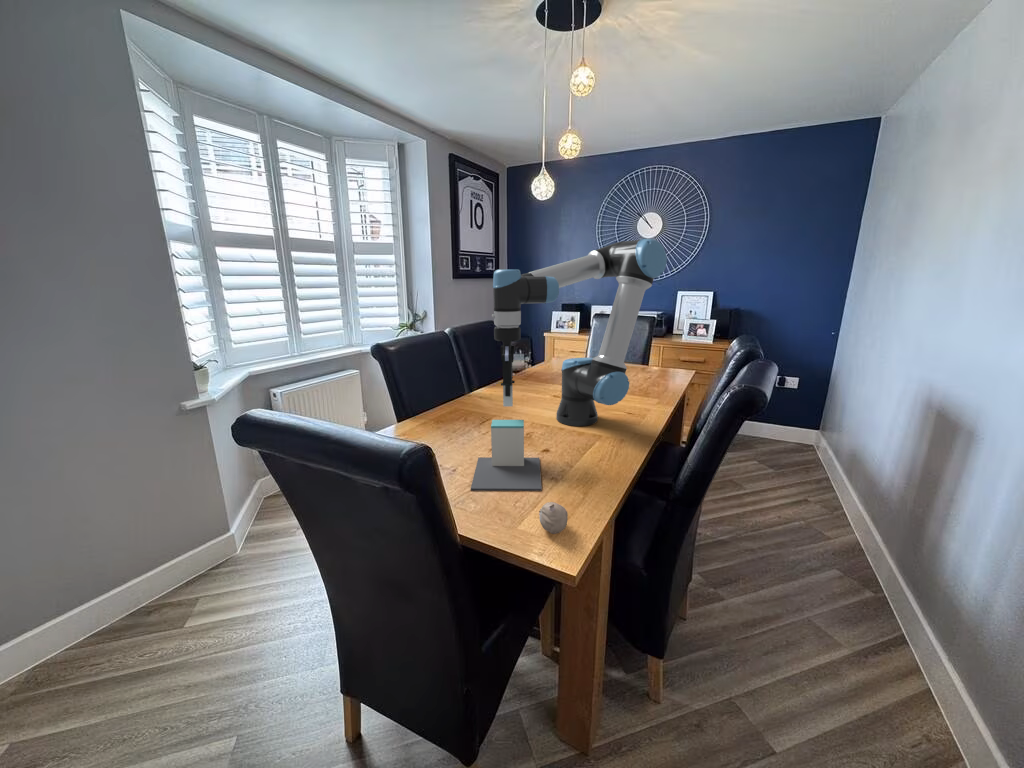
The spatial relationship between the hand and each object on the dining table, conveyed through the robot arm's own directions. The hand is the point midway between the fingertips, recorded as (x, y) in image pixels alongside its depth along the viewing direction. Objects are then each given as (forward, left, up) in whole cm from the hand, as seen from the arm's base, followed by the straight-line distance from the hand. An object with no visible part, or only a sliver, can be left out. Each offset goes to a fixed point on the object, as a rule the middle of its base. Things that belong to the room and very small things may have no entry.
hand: (508, 405), depth 123 cm
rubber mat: (0, +14, -15) cm, 20 cm away
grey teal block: (0, +8, -15) cm, 16 cm away
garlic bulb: (-11, +39, -15) cm, 43 cm away
